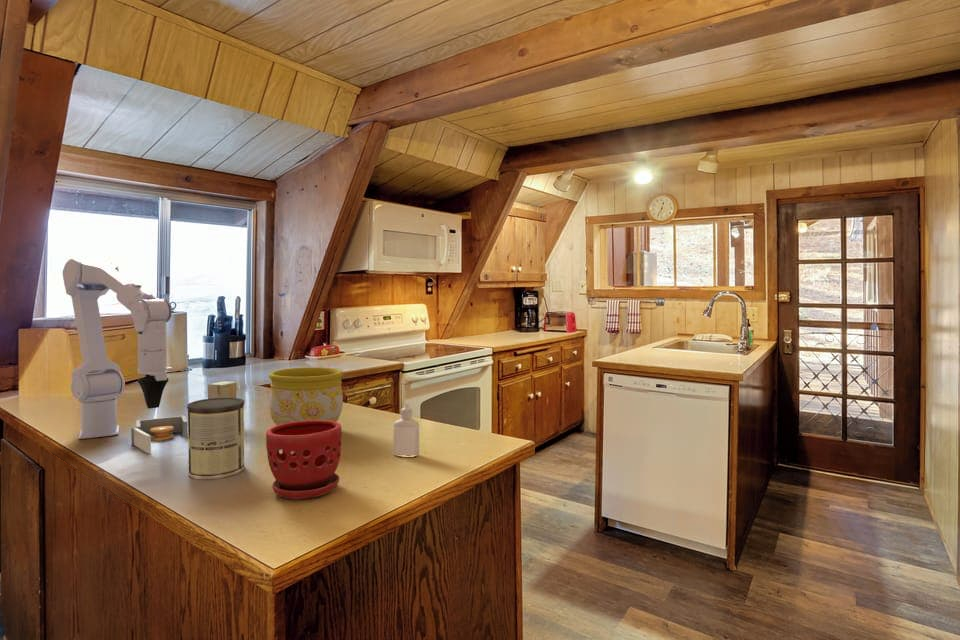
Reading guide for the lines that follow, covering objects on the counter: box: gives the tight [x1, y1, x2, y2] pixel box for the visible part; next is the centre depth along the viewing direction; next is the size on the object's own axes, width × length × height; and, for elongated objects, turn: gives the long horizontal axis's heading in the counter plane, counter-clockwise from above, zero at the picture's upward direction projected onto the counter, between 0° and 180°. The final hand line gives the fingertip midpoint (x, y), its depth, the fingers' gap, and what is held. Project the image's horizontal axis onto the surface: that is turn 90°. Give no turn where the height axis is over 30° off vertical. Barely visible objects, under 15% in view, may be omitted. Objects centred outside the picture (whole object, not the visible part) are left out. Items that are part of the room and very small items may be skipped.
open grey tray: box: [135, 415, 188, 439], centre depth 129 cm, size 8×11×4 cm
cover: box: [130, 426, 152, 454], centre depth 119 cm, size 1×11×4 cm, turn 49°
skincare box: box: [207, 380, 237, 399], centre depth 138 cm, size 6×4×12 cm
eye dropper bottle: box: [393, 402, 420, 456], centre depth 116 cm, size 4×6×12 cm
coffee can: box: [186, 397, 246, 480], centre depth 104 cm, size 10×10×14 cm
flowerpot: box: [268, 366, 344, 426], centre depth 132 cm, size 18×18×16 cm
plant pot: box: [265, 420, 343, 500], centre depth 94 cm, size 13×13×12 cm
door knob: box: [150, 426, 175, 441], centre depth 128 cm, size 5×5×2 cm
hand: (153, 407), depth 121 cm, fingers closed
